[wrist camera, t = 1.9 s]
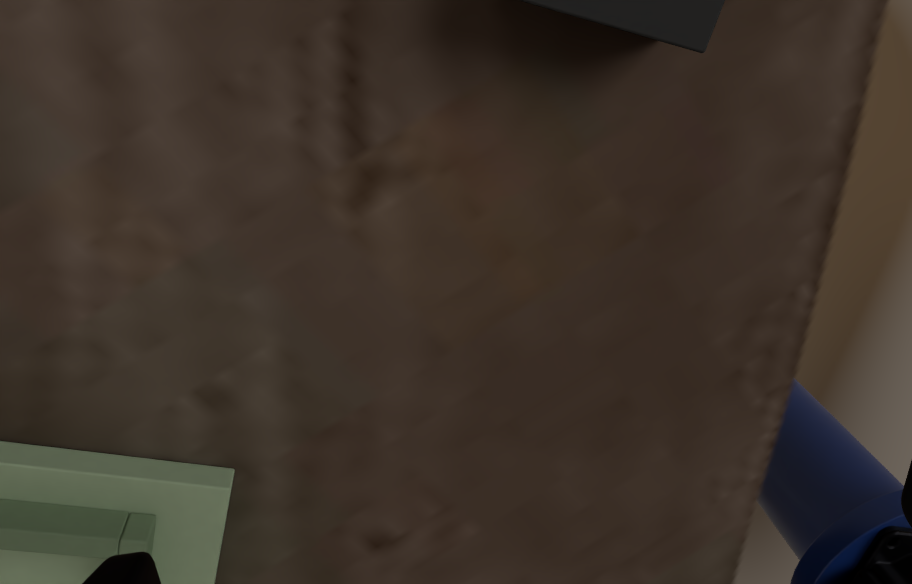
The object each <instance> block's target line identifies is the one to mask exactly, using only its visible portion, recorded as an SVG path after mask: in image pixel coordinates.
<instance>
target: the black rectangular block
mask: <svg viewBox="0 0 912 584" xmlns="http://www.w3.org/2000/svg"><path fill="white" fill-rule="evenodd" d="M521 1H523V2H526V3H530V4H533V5H537V6H540V7H544V8H547V9H551V10H554V11H558V12H561V13H565V14H568V15H571V16H575V17H578V18H582V19H585V20H589V21H592V22H596V23H599V24H603V25H606V26H610V27H613V28H616V29H620V30H623V31H627V32H630V33H634V34H637V35H641V36H644V37H648V38H651V39H655V40H658V41H662V42H665V43H668V44H672V45H675V46H679V47H682V48H686V49H689V50H693V51H696V52H700V53H704V52H705V50H706V47H707V45H708V42H709V40H710V37H711V35H712V32H713V29H714V27H715V24H716V22H717V19H718V17H719V14H720V11H721V9H722V6H723V4H724V1H725V0H521Z"/></svg>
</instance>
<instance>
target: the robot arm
mask: <svg viewBox="0 0 912 584" xmlns="http://www.w3.org/2000/svg"><path fill="white" fill-rule="evenodd" d="M901 504H902V509H903V512H904V515H905V517H906V519H907V521H908V523H909V524H910V526H911V527H912V461H911V464H910V468H909V471H908V475H907V478H906V482H905V485H904V489H903V492H902V497H901ZM82 584H161V581H160V578H159V575H158V572H157V569H156V566H155V562H154V560H153V558H152V556H151V555H150V554H149V553H147V552H135V553H128V554H120V555H114V556H111V557H109V558H108V559H106V560H105V561H104V562H103V563H102V564H101V565H100V566H99V567H98V568H97V569H96V570H95V571H94V572H93V573H92V574H91V575H90V576H89V577H88V578H87V579H86V580H85V581H84V582H83V583H82ZM845 584H912V528H907V527H899V526H888V527H885V528H883V529H882V530H880V531H879V532H878V533H877V535H876V536H875V538H874V539H873V541H872V542H871V544H870V546H869V547H868V549H867V550H866V552H865V553H864V555H863V556H862V558H861V560H860V561H859V563H858V564H857V566H856V567H855V569H854V570H853V572H852V574H851V575H850V577H849V578H848V580H847V581H846V583H845Z"/></svg>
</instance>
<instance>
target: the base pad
mask: <svg viewBox="0 0 912 584" xmlns="http://www.w3.org/2000/svg"><path fill="white" fill-rule="evenodd" d="M234 472H235V471H234V469H232V468H224V467H215V466H207V465H199V464H190V463H182V462H173V461H165V460H156V459H148V458H139V457H131V456H123V455H114V454H106V453H97V452H89V451H80V450H72V449H63V448H55V447H47V446H38V445H30V444H21V443H13V442H4V441H0V584H82V583H83V582H84V581H85V580H86V579H87V578H88V577H89V576H90V575H91V574H92V573H93V572H94V571H95V570H96V569H97V568H98V567H99V566H100V565H101V564H102V563H103V562H104V561H105V560H106V559H108V558H109V557H111V556H114V555H120V554H128V553H135V552H147V553H149V554H150V555H151V556H152V558H153V560H154V562H155V566H156V569H157V572H158V575H159V578H160V581H161V584H215V578H216V573H217V567H218V562H219V556H220V550H221V545H222V539H223V533H224V528H225V522H226V517H227V511H228V505H229V500H230V494H231V489H232V483H233V477H234Z"/></svg>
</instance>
